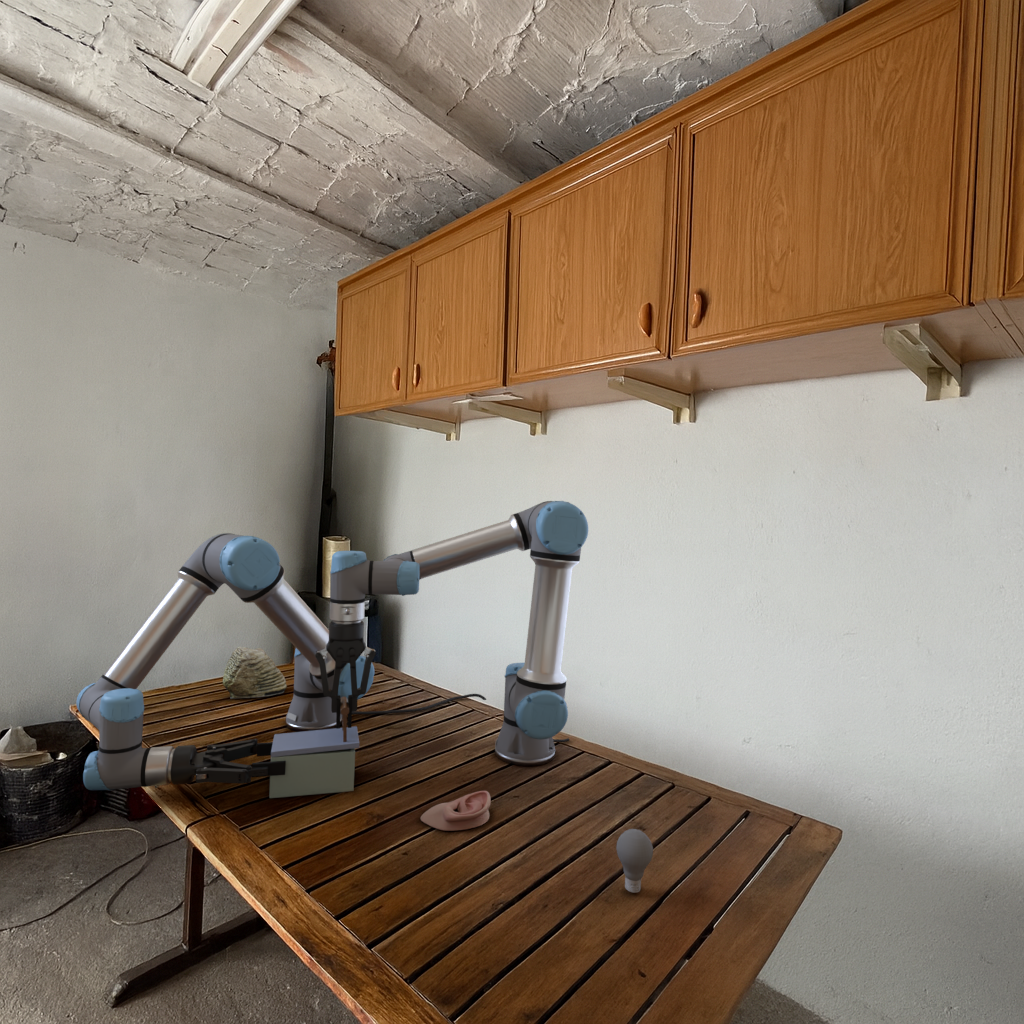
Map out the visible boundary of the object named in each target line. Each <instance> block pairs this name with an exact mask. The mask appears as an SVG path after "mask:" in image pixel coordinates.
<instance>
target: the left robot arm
mask: <svg viewBox="0 0 1024 1024" xmlns="http://www.w3.org/2000/svg"><path fill="white" fill-rule="evenodd" d="M285 571H286V570H285V568H284V567H283V565H282V564H281V557H280V555H279V553H278V551H277V549H276V548H275V547H274V546H273V545H272V544H271V543H270V542H268V541H266V540H265V539H263V538H260V537H258V536H254V535H242V534H235V533H231V532H224V533H223V532H222V533H218V534H216V535H212V536H211V537H209V538H207V539H206V540H205V541H203V542H202V543H201V544H200V545H199V546H198V547H197V548H196V549H195V550H194V551H193V553H192V554H191V555H190V556H189V557H188V558H187V560H186V561H185V562H184V563H183V565H182V566H181V567H180V568H179V570H178V571H177V576H178V578H177V579H176V581H175V582H174V584H173V585H172V586H171V587H170V588H169V590H168V591H167V593H166V594H165V595H164V596H163V597H162V599H161V600H160V601H159V602H158V604H157V605H156V606H155V608H153V610H152V612H151V613H150V614H149V615H148V617H147V618H146V619H145V620H144V621H143V623H142V624H141V625H140V627H139V628H138V629H137V630H136V632H135V633H134V634H133V636H132V637H131V638H130V640H129V641H128V642H127V643H126V644H125V646H124V647H123V648H122V650H121V651H120V652H119V653H118V654H117V656H116V657H115V659H114V660H113V661H112V662H111V664H110V665H109V666H108V667H107V669H106V670H105V671H104V673H102V675H101V676H100V677H99V679H98V680H97V681H96V682H93V683H90V684H88V685H86V686H84V688H82V689H81V690H80V692H79V693H78V695H77V697H76V709H77V710H78V712H79V713H80V715H81V717H82V718H84V720H86V721H87V722H89V723H90V724H91V725H92V726H93V727H95V728H96V729H97V730H98V731H99V732H98V733H99V737H98V739H99V740H98V743H99V745H98V750H95V751H92V752H90V753H89V754H88V756H87V758H86V760H85V763H84V770H83V773H82V781H83V785H84V787H85V788H86V789H87V790H88V791H115V790H123V789H125V790H126V789H134V788H135V789H137V788H147V787H154V788H155V789H157V788H160V787H161V786H168V785H170V784H173V786H175V785H189V784H192V782H193V781H194V779H195V783H196V784H202V783H220V784H249V783H251V781H252V778H261V777H270V776H277V775H285V767H286V761H274V762H271V761H261V762H259V761H258V762H252V763H251V765H249V764H245V763H244V764H243V763H238V762H233V761H237V760H241V759H244V758H247V757H248V758H249V757H252V756H255V755H256V757H266V756H267V757H268V756H270V757H271V750H272V744H273V741H269V742H268V741H267V742H258V740H259V739H258V738H252V739H246V740H245V739H244V740H240V741H234V742H227V743H221V744H209V745H207V746H206V750H205V751H201V752H198V751H197V746H196V745H194V744H187V745H177V746H176V747H174V746H172V745H168V746H154V747H143V734H144V733H143V732H144V712H145V701H144V693H143V692H142V690H140V689H138V688H139V686H140V685H141V684H142V683H143V681H144V680H145V678H147V676H148V674H149V673H150V672H151V670H153V668H154V666H155V665H156V664H157V662H159V660H160V659H161V658H162V656H163V655H164V653H165V652H166V651H167V649H168V648H169V647H170V645H171V644H172V643H173V642H174V640H175V639H176V637H178V635H179V634H180V633H181V631H182V630H183V629H184V627H185V626H186V625H187V623H188V622H189V620H190V619H191V618H192V617H193V615H195V613H196V612H197V610H198V609H199V608H200V606H201V605H202V603H203V602H204V601H205V600H206V599H207V597H209V596H213V595H215V594H216V593H217V591H218V590H219V589H220V588H221V586H223V585H224V584H225V585H226V586H227V587H228V588H229V589H230V590H231V591H232V592H233V593H234V594H235V595H236V596H237V597H238V598H239V599H240V600H241V601H242V602H243V603H245V604H246V603H247V604H251V603H253V604H254V605H255V606H256V607H257V608H258V609H259V610H260V611H261V612H262V613H263V614H264V616H265V617H266V618H267V619H269V621H270V622H271V623H272V624H273V625H274V626H275V627H276V628H277V629H278V631H280V633H282V634H283V636H284V637H285V638H286V639H287V640H288V641H289V642H290V644H292V645H293V646H294V647H295V650H294V655H293V657H294V672H293V673H294V674H293V695H292V696H293V697H292V699H291V702H290V704H289V708H288V711H287V713H286V715H285V726H286V728H287V729H289V730H291V731H294V732H304V731H314V730H324V729H335V728H336V713H332V711H331V701H332V699H331V698H330V697H328V696H324V695H323V687H322V680H321V672H320V664H319V662H318V660H317V658H316V656H315V655H316V651H318V650H319V651H320V650H322V649H324V648H326V645H327V643H328V641H329V628H327V626H326V625H325V624H324V623H323V622H322V620H321V619H320V618H319V617H318V616H317V615H316V613H315V612H314V611H313V610H312V609H311V607H309V606H308V605H307V603H306V602H305V601H304V600H303V599H302V598H301V597H300V595H299V594H298V592H297V591H295V590H294V589H293V587H292V586H291V585H290V583H288V581H286V579H285V574H286V572H285ZM365 659H366V657H365V655H360V657H359V658H358V659H357V660H356V676H357V689H358V688H360V685H361V680H362V675H363V669H364V664H365ZM325 663H326V671H327V678H328V686H329V689H330V690H332V686H333V678H334V670H335V661H334V659H333V658H332V657H331V655H330V654H329V653H327V658H326V659H325ZM375 674H376V673H375V666H374V664H373V662H372V663H371V668H370V673H369V679H368V684H367V689H366V693H365V694H362V695H359V696H358V698H357V701H358V700H359V699H361V698H362V697H364V696H365V695H366V694H367V693H368V692H369V690H370V689H371V688H372V685H373V683H374V679H375V678H374V676H375ZM339 695H340V696H341V697H347V699H348V695H352V690H351V674H350V663H342V665H341V672H340V680H339V688H338V696H339ZM472 697H473V698H474V697H476V698H480V699H481V700H483V701H486V700H487V698H486V697H485V696H484V695H482V694H479V693H469V694H468V693H467V694H463V695H457V696H453V697H450V698H449V697H448V698H446V699H444V700H441V701H437V702H435V703H433V704H431V705H427V706H423V707H417V708H408V709H407V708H406V709H393V710H391V709H390V710H373V711H372V710H371V711H353V712H352V716H353V715H354V716H355V715H359V716H360V715H362V716H363V715H364V716H365V715H367V716H371V715H390V714H403V713H404V714H405V713H414V712H415V713H416V712H421V711H425V710H429V709H432V708H435V707H438V706H440V705H444V704H448V703H449V702H452V701H456V700H462V699H467V698H472ZM340 725H342V714H341V710H340Z"/></svg>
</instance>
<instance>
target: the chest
mask: <svg viewBox="0 0 1024 1024" xmlns="http://www.w3.org/2000/svg"><path fill="white" fill-rule="evenodd" d="M274 761H286V767H285V775H277V776H269V796H268V797H269V799H277V798H289V797H300V796H301V797H302V796H312V795H323V794H335V793H336V794H337V793H346V792H354V787H355V767H356V766H355V765H356V748H353V749H343V750H334V751H325V752H315V753H306V754H297V755H287V756H278V757H271V756H270V762H274Z"/></svg>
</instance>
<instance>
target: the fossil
mask: <svg viewBox="0 0 1024 1024" xmlns="http://www.w3.org/2000/svg"><path fill="white" fill-rule="evenodd" d="M222 676H223V677H222V685H223V687H224V688H225V690H226V691H228V693H229V698H230V699H250V698H264V697H271V696H275V695H281V694H284V693H285V691H286V689H287V687H288V686H287V680H286V678H285V676H284V674H283V673H282V672H281V669H279V668H278V667H277V665H276V663H275V662H274V660H273V659H272V658H271V657H270V656H269V655H268V654H267V653H266V652H265V650H264V649H263V648H260V647H258V648H251V647H247V646H246V647H245V646H238V647H237V648H236V649H235V650H233V651H232V653H231V656H230V657H229V659H228V660H227V663H226V666H225V668H224V671H223V675H222Z"/></svg>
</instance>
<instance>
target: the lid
mask: <svg viewBox="0 0 1024 1024" xmlns="http://www.w3.org/2000/svg"><path fill="white" fill-rule="evenodd" d="M340 710H341V714H342V723H341V727H340V729H336V727H335V728H333V729H324V730H314V731H304V732H301V731H293V732H287V733H286V732H283V733H275V734H274V735H273V740H272V742H273V744H272V750H271V756H270V758H271V757H278V756H287V755H297V754H306V753H315V752H325V751H334V750H343V749H353V748H355V749H360V738H359V732H358V731H359V730H358V726H356V725H355V726H351V728H348V724H347V723H348V714H349V706H348V699H347V697H341V707H340Z"/></svg>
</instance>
